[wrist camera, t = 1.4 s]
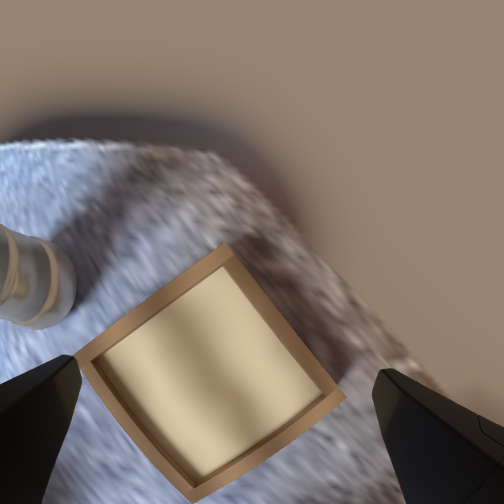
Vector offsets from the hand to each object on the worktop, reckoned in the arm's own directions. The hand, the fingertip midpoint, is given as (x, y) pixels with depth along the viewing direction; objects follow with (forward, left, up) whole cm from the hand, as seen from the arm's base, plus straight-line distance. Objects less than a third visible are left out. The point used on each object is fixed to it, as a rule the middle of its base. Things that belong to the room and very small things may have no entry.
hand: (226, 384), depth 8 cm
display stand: (-2, -1, -14) cm, 14 cm away
